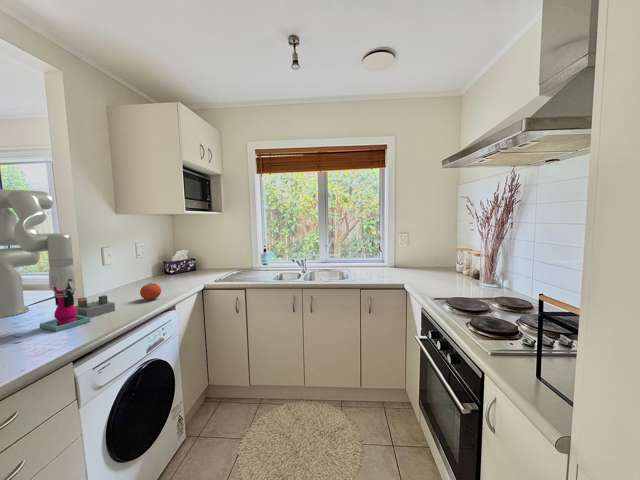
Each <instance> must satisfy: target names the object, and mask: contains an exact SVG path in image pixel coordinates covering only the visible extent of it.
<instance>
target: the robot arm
mask: <svg viewBox="0 0 640 480" xmlns="http://www.w3.org/2000/svg"><path fill="white" fill-rule="evenodd" d="M53 206H54V200H53V197H52V195H50V193H48V192H46V191H41V190H40V191H39V190H24V189H20V190H19V189H17V190H16V189H2V188H1V189H0V247H3V246H4V247H6V246H18V247H8V248H7V247H6V248H0V318H6V317H12V316H17V315H21V314H23V313H24V314H25V313H26V312H28V311H30V307H27V306H25V300H24V299H25V298H24V289H23V288H24V287H23V278H22V275H21V274H20V272H19V271H17V270H15V268H18V267H20V268H21V267H29V266H35V265H37V264H38V263H39V261H40V257H41V256H40V254H41V252H47V255H48V268H49V269H48V270H49V271H48V272H49V273H48V285H49V287H48V288H49V289H50V290H52V291H53V293H54V299H55V300H54V301H55V306H58V298H57V297H56V294H57V293H56V292H55V291H54V286H55V287H56V288H57V291H63V293H64V296H65V297H64V307H68V306H72V305H74V306H75V301H74V296H75V291H76V289H77V288H76V279H75V273H74V272H75V271H74V268H73V267H74V258H73V256H74V254H73V244H72V242H73V241H72V236H71V235H70V234H68V233H58V232H57V233H56V232H54V233H38V230H37V229H36V228H35V226H38V225H40V224H43V223H44V222H45V221H46V219H47V215H46V213H45V211H44V210H50V209H51V208H52V207H53ZM11 209H12V210H13V211H12V210H11ZM17 218H18V219H19V220H18V221H17ZM66 288H70V289H67V290H65V289H66ZM66 291H68V293H67V292H66Z"/></svg>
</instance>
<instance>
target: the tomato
mask: <svg viewBox="0 0 640 480" xmlns="http://www.w3.org/2000/svg"><path fill="white" fill-rule="evenodd" d="M139 294H140V297H141V298H143V299H144V300H148V301H150V300H151V301H152V300H155V299H158V297H159V296H160V295H161V294H162V287H161V286H160V285H159V284H157V283H155V282H154V283H152V282H151V281H150V282H149V283H146V284H144V285H143V286H141V288H140V291H139Z"/></svg>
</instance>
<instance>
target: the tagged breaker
mask: <svg viewBox="0 0 640 480" xmlns="http://www.w3.org/2000/svg"><path fill="white" fill-rule="evenodd" d="M87 303H88V297H80V298H77V306H80V307H83V306H87Z"/></svg>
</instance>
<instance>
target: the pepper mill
mask: <svg viewBox="0 0 640 480" xmlns="http://www.w3.org/2000/svg"><path fill="white" fill-rule="evenodd" d="M67 289H70V288H66V289H65V290H67ZM54 291H55V292H56V293H57V294H56V297H57V298H58V305H56V309H55V311H54V315H53V316H54V318H55V319H57V320H58V321H57V326H60V325H64V324H67V323H71V322H74V321H77V320H76V318H75V316H76V314H77V309H76V308H75V306H76V305H75V304H74V305H72V306H68V307H64V297H65V296H64V293H63V291H57V288H56V287H55V286H54ZM54 291H53V292H54ZM66 292H67V293H68V291H66Z"/></svg>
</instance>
